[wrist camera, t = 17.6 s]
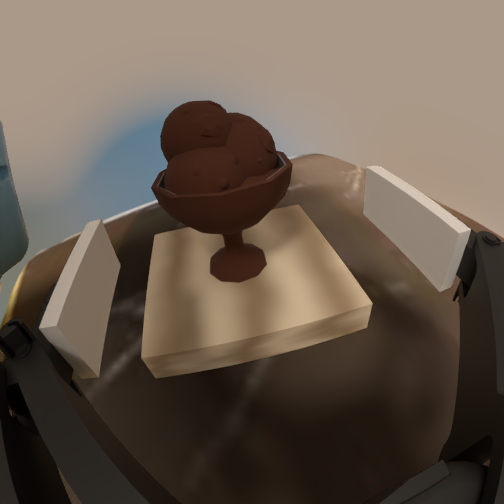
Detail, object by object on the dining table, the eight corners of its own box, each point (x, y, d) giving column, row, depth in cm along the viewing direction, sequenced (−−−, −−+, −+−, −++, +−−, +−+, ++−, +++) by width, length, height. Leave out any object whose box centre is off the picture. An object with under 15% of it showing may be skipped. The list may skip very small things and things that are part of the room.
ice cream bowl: (230, 326, 21) (181, 113, 12) (162, 266, 28) (118, 118, 20) (320, 259, 26) (316, 88, 18) (242, 222, 34) (222, 91, 25)
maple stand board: (155, 378, 21) (141, 358, 19) (161, 254, 36) (154, 234, 34) (366, 327, 23) (372, 303, 21) (299, 225, 37) (298, 204, 36)
